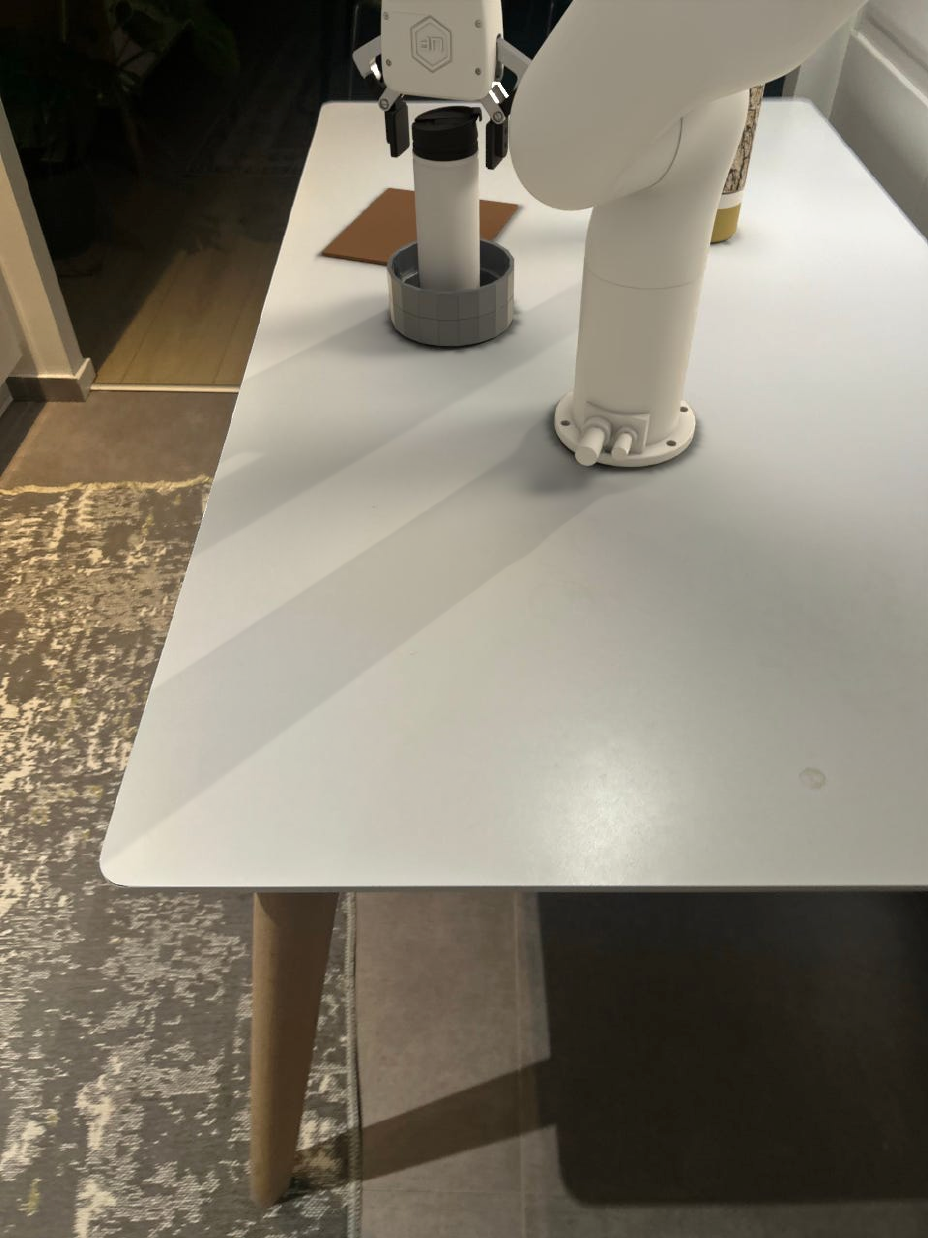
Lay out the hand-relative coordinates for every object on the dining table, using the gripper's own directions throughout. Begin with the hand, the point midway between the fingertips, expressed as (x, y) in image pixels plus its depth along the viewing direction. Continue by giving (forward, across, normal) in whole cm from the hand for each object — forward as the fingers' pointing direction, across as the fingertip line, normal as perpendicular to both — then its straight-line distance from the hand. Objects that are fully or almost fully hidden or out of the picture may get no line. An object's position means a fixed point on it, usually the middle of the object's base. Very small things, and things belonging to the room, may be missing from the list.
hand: (446, 158), depth 87 cm
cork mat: (+16, -11, +19) cm, 27 cm away
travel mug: (+16, 0, 0) cm, 16 cm away
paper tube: (+16, +22, +29) cm, 40 cm away
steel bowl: (+16, 0, 0) cm, 16 cm away
